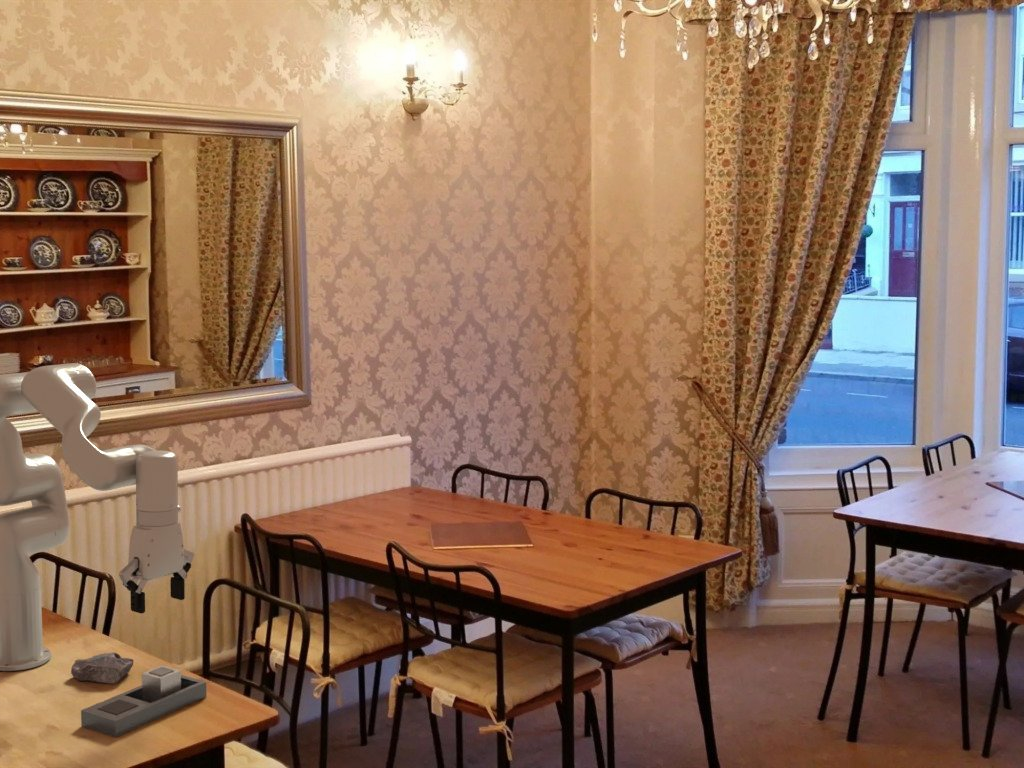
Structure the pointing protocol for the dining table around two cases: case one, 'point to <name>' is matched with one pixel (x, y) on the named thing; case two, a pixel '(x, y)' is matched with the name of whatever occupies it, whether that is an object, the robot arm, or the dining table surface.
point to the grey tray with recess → (138, 708)
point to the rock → (102, 668)
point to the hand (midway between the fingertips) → (158, 605)
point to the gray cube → (160, 683)
